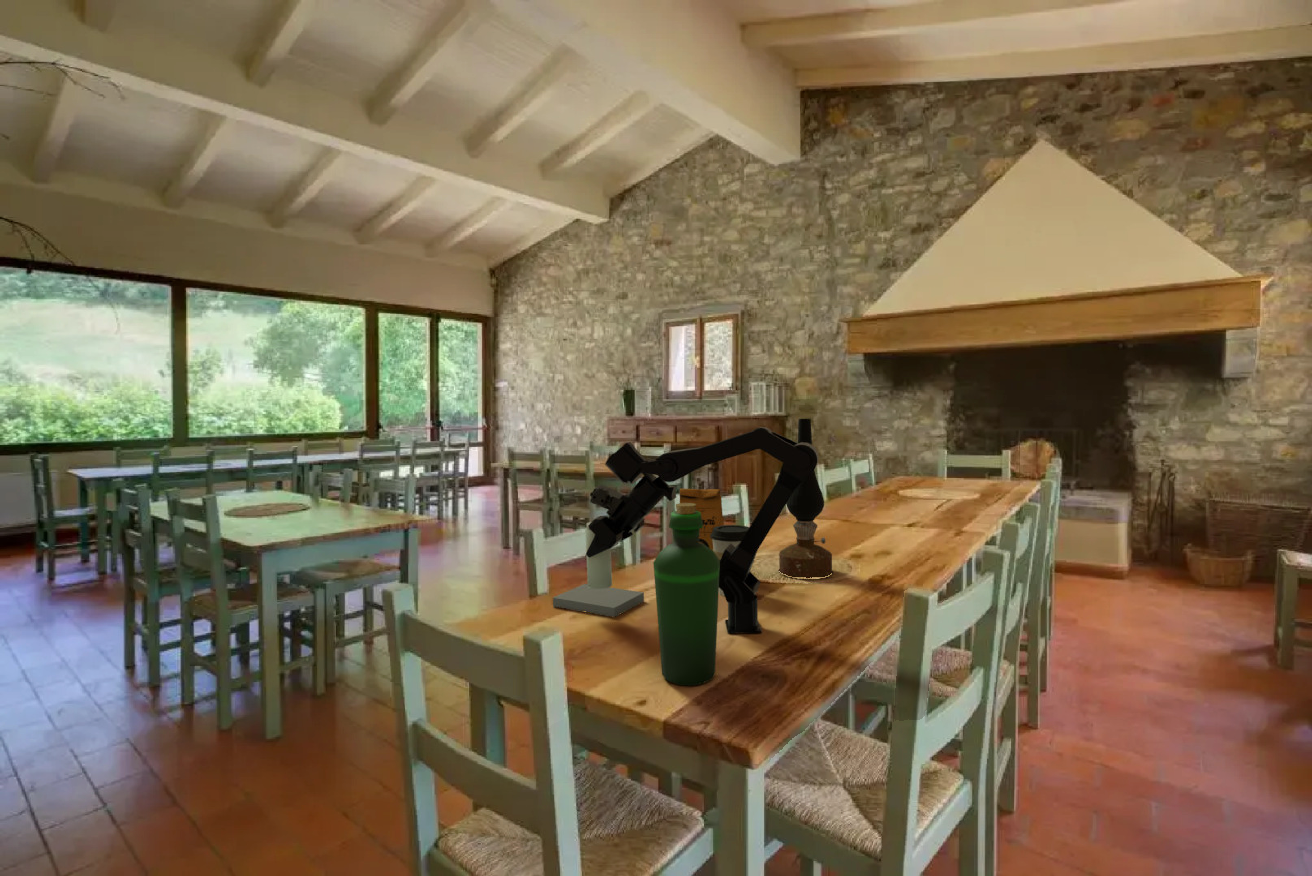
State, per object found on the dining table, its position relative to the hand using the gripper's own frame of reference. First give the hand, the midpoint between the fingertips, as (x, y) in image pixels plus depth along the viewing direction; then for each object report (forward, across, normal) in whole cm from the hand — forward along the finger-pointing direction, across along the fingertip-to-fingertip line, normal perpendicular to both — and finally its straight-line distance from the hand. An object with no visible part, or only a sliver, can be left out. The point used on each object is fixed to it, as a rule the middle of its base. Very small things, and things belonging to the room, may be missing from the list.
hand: (592, 552), depth 136 cm
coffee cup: (-8, -22, +28) cm, 36 cm away
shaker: (+4, 0, +6) cm, 7 cm away
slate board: (+11, -8, +8) cm, 16 cm away
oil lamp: (-18, -44, +38) cm, 61 cm away
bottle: (-8, +24, +28) cm, 38 cm away
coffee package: (-1, -37, +20) cm, 42 cm away
